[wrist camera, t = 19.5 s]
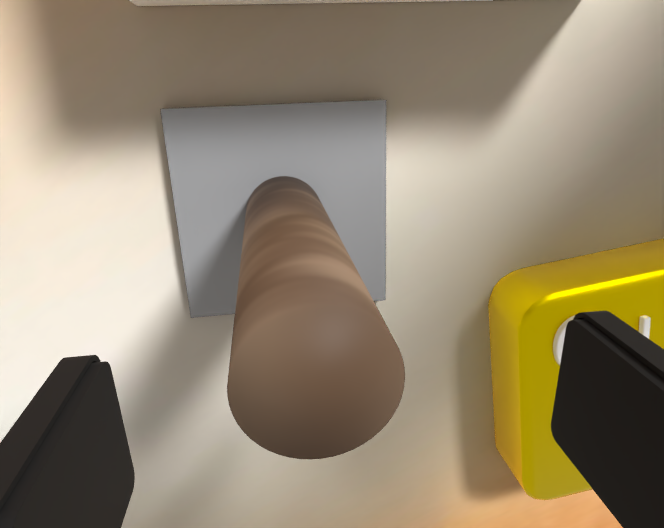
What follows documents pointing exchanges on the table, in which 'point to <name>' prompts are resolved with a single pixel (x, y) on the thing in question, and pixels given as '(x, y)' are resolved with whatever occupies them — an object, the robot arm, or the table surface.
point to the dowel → (306, 333)
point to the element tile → (559, 348)
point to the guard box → (261, 2)
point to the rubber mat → (268, 162)
